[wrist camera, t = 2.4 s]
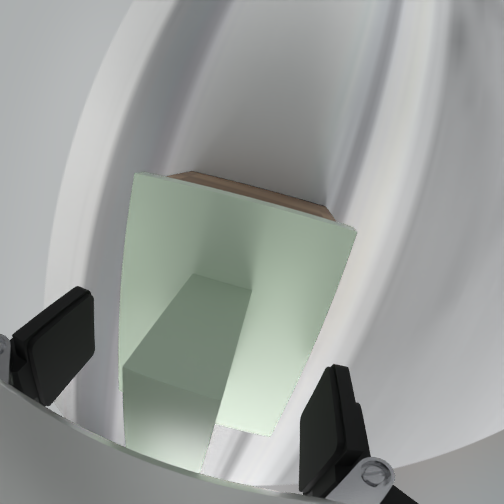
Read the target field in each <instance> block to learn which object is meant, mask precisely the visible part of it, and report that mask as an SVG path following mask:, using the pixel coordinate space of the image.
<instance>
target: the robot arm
mask: <svg viewBox="0 0 504 504" xmlns="http://www.w3.org/2000/svg"><path fill="white" fill-rule="evenodd" d="M12 336H13V338H12V339H11V340H9V339H8V338H7V337H6V336H4V335H2V334H0V504H418V503H417V502H415V501H414V500H413V499H411V498H410V497H408V496H407V495H406V494H404V493H403V492H402V491H401V490H399V489H398V488H397V487H395V486H394V485H393V483H394V481H395V473H394V471H393V469H392V467H391V466H390V465H389V464H388V463H387V462H386V461H384V460H382V459H380V458H376V457H371V456H370V450H369V445H368V439H367V434H366V429H365V424H364V419H363V414H362V409H361V406H360V404H359V403H356V402H355V397H354V392H353V387H352V382H351V378H350V373H349V369H348V367H345V366H340V365H335V364H333V365H332V366H331V367H327V368H326V369H325V371H324V373H323V375H322V377H321V379H320V381H319V383H318V385H317V386H316V388H315V390H314V392H313V394H312V396H311V398H310V400H309V402H308V403H307V405H306V407H305V409H304V411H303V413H302V415H301V419H300V466H299V491H300V492H303V495H300V494H294V493H287V492H281V491H275V490H269V489H264V488H259V487H254V486H249V485H244V484H239V483H235V482H230V481H226V480H222V479H218V478H214V477H211V476H207V475H203V474H200V473H196V472H193V471H190V470H186V469H183V468H180V467H177V466H174V465H171V464H168V463H165V462H162V461H159V460H156V459H154V458H151V457H148V456H146V455H143V454H140V453H138V452H135V451H133V450H130V449H128V448H126V447H123V446H121V445H119V444H116V443H114V442H112V441H110V440H107V439H105V438H103V437H101V436H99V435H97V434H95V433H93V432H91V431H88V430H86V429H84V428H82V427H81V426H79V425H77V424H75V423H73V422H71V421H69V420H67V419H65V418H64V417H62V416H60V415H58V414H56V413H55V412H53V411H51V410H50V409H48V408H46V407H45V406H50V405H51V403H53V401H54V400H55V399H56V398H57V397H58V395H59V394H60V393H61V392H62V391H63V390H64V388H65V387H66V386H67V385H68V384H69V382H70V381H71V380H72V379H73V378H74V377H75V375H76V374H77V373H78V372H79V371H80V370H81V368H82V367H83V366H84V365H85V364H86V363H87V362H88V360H89V359H90V358H91V357H92V356H93V354H94V351H95V340H94V298H93V296H92V295H91V292H90V291H89V290H86V289H84V288H82V287H79V286H76V287H75V288H73V289H72V290H70V291H69V292H68V293H66V294H65V295H64V296H62V297H61V298H59V299H58V300H57V301H55V302H54V303H53V304H51V305H50V306H49V307H47V308H46V309H45V310H43V311H42V312H41V313H39V314H38V315H37V316H36V317H34V318H33V319H32V320H30V321H29V322H28V323H27V324H25V325H24V326H23V327H22V328H20V329H19V330H18V331H16V332H15V333H14V334H13V335H12Z"/></svg>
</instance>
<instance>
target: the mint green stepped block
mask: <svg viewBox="0 0 504 504" xmlns="http://www.w3.org/2000/svg"><path fill="white" fill-rule="evenodd" d="M356 235H357V231H356V230H355V229H354V227H351V226H348V225H345V224H342V223H338V222H335V221H332V220H328V219H325V218H322V217H318V216H315V215H312V214H308V213H305V212H301V211H298V210H294V209H291V208H287V207H284V206H280V205H276V204H273V203H269V202H265V201H262V200H258V199H254V198H250V197H247V196H243V195H239V194H235V193H231V192H227V191H223V190H219V189H215V188H211V187H207V186H203V185H199V184H195V183H191V182H187V181H182V180H178V179H174V178H170V177H165V176H161V175H156V174H152V173H147V172H138V173H134V179H133V185H132V191H131V198H130V204H129V211H128V219H127V227H126V235H125V244H124V253H123V264H122V276H121V290H120V308H119V339H118V373H119V391H122V392H123V413H124V431H125V444H126V448H128V449H130V450H133V451H135V452H138V453H140V454H143V455H146V456H148V457H151V458H154V459H156V460H159V461H162V462H165V463H168V464H171V465H174V466H177V467H180V468H183V469H186V470H190V471H193V472H196V473H200V471H201V468H202V465H203V462H204V458H205V455H206V452H207V448H208V445H209V442H210V438H211V435H212V432H213V428H214V425H215V424H217V425H221V426H225V427H228V428H232V429H236V430H240V431H244V432H249V433H253V434H257V435H262V436H267V437H271V435H272V433H273V431H274V429H275V427H276V425H277V423H278V421H279V419H280V417H281V415H282V413H283V411H284V409H285V407H286V405H287V403H288V401H289V399H290V397H291V395H292V393H293V390H294V388H295V386H296V384H297V382H298V380H299V378H300V375H301V373H302V371H303V369H304V367H305V365H306V362H307V360H308V358H309V356H310V353H311V351H312V349H313V346H314V344H315V342H316V339H317V337H318V335H319V332H320V330H321V328H322V325H323V323H324V320H325V318H326V315H327V313H328V310H329V308H330V305H331V303H332V300H333V298H334V295H335V293H336V290H337V287H338V285H339V282H340V279H341V277H342V274H343V271H344V269H345V266H346V263H347V260H348V258H349V255H350V252H351V249H352V246H353V243H354V240H355V237H356Z"/></svg>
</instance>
